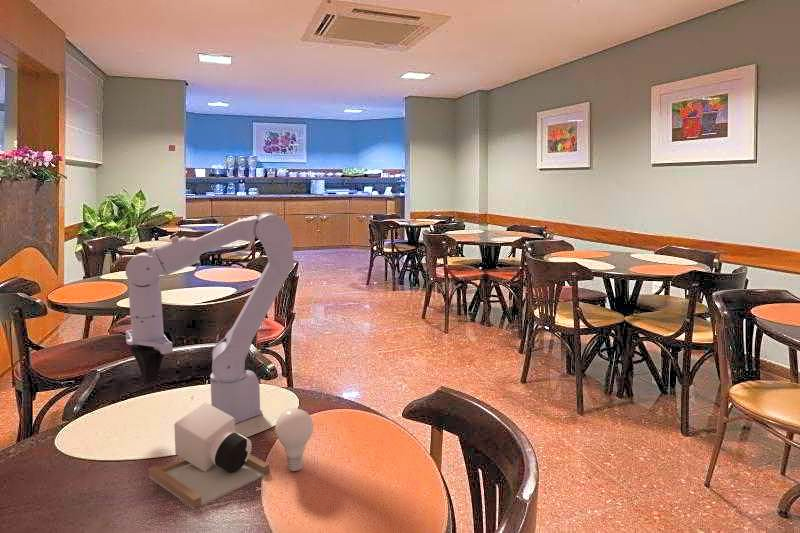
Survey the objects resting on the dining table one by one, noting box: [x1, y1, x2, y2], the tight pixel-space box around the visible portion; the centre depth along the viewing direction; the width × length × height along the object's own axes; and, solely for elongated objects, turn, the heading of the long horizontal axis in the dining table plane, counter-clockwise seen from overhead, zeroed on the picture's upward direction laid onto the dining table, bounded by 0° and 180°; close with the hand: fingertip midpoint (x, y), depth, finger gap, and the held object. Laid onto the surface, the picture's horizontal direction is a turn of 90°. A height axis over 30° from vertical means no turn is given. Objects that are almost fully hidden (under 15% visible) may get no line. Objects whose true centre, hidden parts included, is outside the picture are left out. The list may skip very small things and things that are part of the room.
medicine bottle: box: [173, 401, 252, 473], centre depth 96 cm, size 7×7×12 cm
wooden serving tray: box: [148, 453, 271, 510], centre depth 94 cm, size 14×14×2 cm
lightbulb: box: [274, 407, 314, 472], centre depth 95 cm, size 6×6×11 cm
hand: (150, 381), depth 111 cm, fingers closed
